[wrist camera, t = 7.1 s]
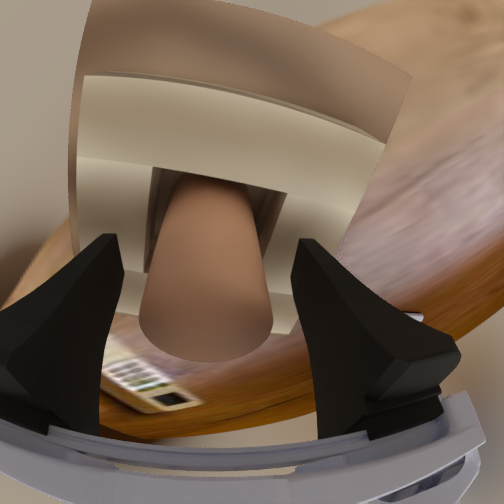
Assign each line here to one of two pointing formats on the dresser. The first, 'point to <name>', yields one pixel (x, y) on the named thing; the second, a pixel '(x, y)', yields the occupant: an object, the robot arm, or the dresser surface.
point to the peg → (207, 275)
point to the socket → (222, 128)
